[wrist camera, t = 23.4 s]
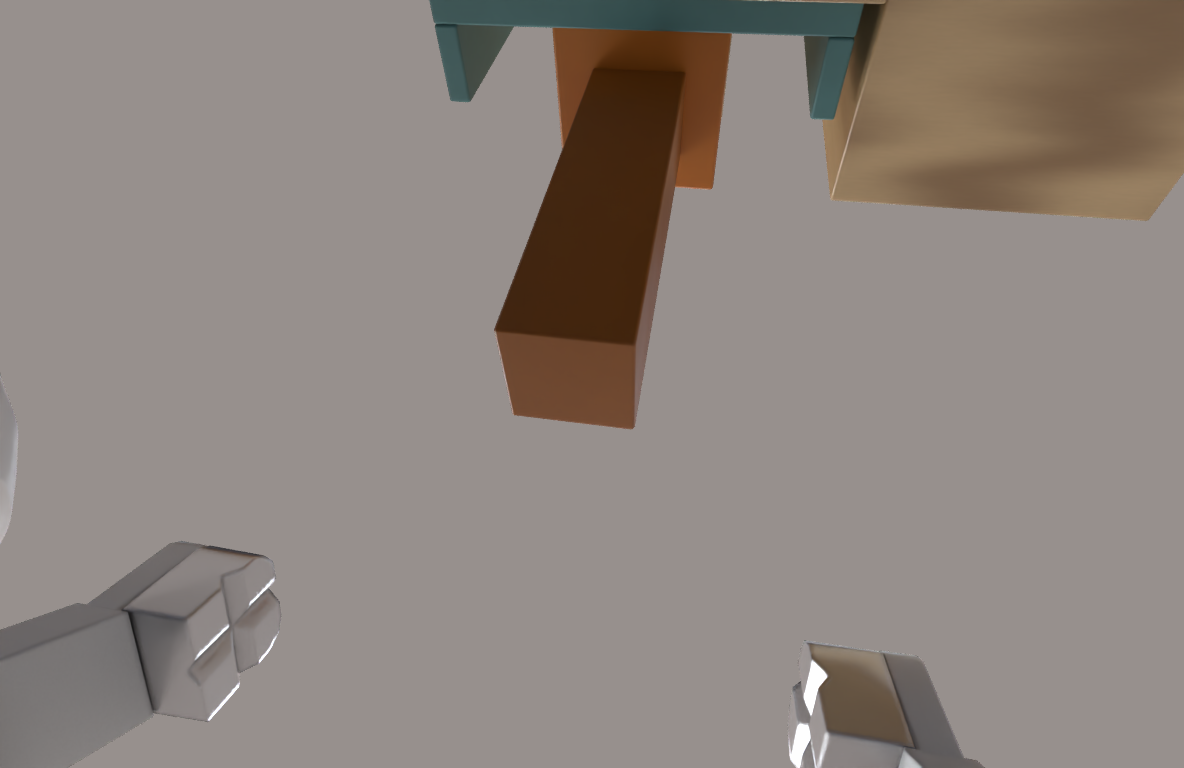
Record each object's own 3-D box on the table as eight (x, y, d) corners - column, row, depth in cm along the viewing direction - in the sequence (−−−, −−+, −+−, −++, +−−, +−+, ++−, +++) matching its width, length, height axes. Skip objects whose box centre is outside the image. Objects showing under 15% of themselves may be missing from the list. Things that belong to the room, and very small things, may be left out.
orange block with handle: (747, -114, 23) (731, 19, 26) (621, -114, 24) (621, 15, 27) (707, 305, 10) (686, 466, 13) (417, 278, 10) (469, 439, 14)
